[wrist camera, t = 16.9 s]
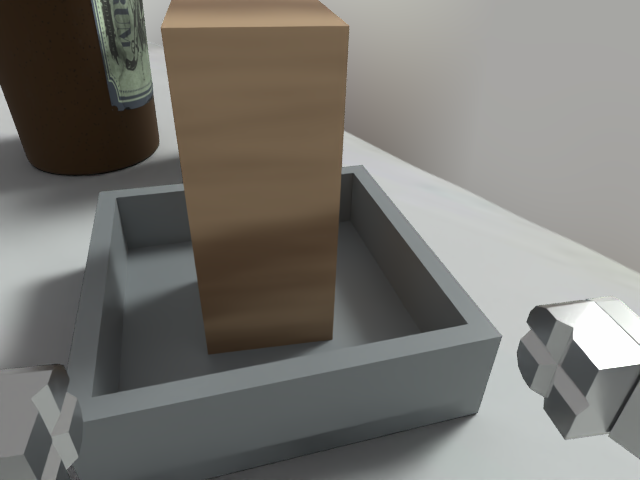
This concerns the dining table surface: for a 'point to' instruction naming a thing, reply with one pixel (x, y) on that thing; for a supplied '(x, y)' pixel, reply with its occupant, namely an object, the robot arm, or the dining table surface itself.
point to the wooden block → (260, 162)
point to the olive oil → (78, 83)
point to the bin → (264, 363)
